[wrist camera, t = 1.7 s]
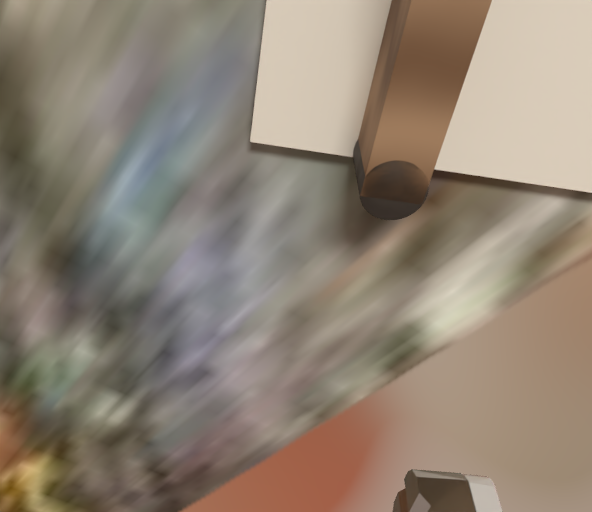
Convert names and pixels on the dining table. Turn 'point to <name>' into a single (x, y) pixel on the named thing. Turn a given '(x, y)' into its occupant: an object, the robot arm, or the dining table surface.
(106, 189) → the dining table surface
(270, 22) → the wall mounted roll holder
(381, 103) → the leg
